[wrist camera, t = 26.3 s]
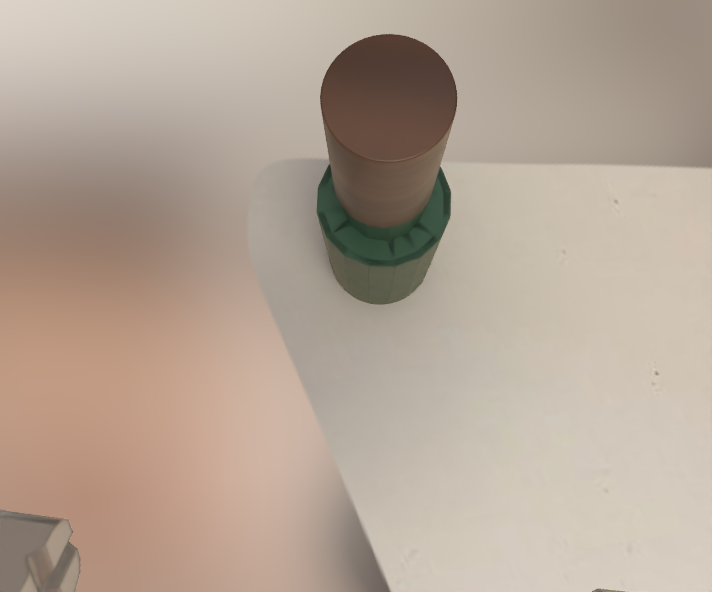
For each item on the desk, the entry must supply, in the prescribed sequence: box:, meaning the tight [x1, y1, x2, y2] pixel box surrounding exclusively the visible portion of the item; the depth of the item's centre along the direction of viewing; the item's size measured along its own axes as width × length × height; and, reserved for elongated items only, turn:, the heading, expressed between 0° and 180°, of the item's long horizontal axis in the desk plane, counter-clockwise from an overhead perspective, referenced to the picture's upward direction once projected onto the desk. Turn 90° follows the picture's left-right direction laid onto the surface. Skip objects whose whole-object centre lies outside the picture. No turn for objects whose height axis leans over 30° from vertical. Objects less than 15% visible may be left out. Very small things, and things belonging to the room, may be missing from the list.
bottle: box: [317, 164, 451, 304], centre depth 37 cm, size 6×6×15 cm
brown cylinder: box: [320, 34, 457, 228], centre depth 26 cm, size 4×4×8 cm
